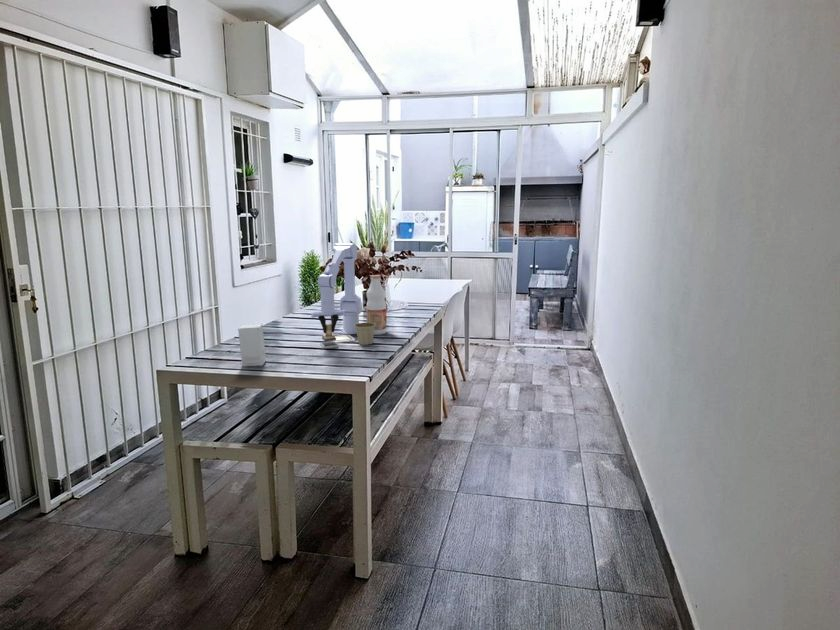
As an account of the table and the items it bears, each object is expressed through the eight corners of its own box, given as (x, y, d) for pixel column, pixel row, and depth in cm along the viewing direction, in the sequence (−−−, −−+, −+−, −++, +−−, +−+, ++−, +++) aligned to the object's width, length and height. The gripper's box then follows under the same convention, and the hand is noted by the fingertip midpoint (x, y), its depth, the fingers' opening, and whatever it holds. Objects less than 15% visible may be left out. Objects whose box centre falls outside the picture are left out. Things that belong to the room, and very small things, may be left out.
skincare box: (266, 361, 227) (263, 323, 224) (262, 366, 221) (259, 327, 218) (245, 362, 227) (242, 324, 224) (240, 366, 220) (237, 327, 217)
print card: (328, 337, 265) (328, 336, 265) (349, 335, 269) (349, 334, 269) (334, 343, 255) (334, 341, 255) (355, 341, 259) (355, 339, 259)
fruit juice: (363, 332, 276) (362, 275, 271) (380, 329, 281) (379, 273, 276) (373, 335, 269) (371, 277, 263) (390, 333, 274) (389, 275, 268)
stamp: (322, 338, 252) (321, 323, 250) (333, 337, 254) (332, 322, 252) (324, 341, 247) (324, 326, 246) (336, 340, 249) (335, 325, 247)
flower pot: (356, 346, 249) (356, 327, 247) (353, 341, 258) (352, 323, 256) (377, 345, 251) (377, 326, 250) (373, 340, 260) (373, 321, 259)
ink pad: (320, 345, 252) (320, 342, 252) (335, 343, 255) (335, 340, 255) (323, 348, 246) (323, 345, 246) (338, 346, 249) (338, 344, 249)
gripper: (312, 304, 240) (314, 335, 243) (346, 302, 246) (347, 332, 248) (309, 302, 247) (311, 332, 250) (342, 299, 252) (343, 329, 255)
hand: (328, 332), depth 249 cm, fingers closed on stamp, 3 cm apart
